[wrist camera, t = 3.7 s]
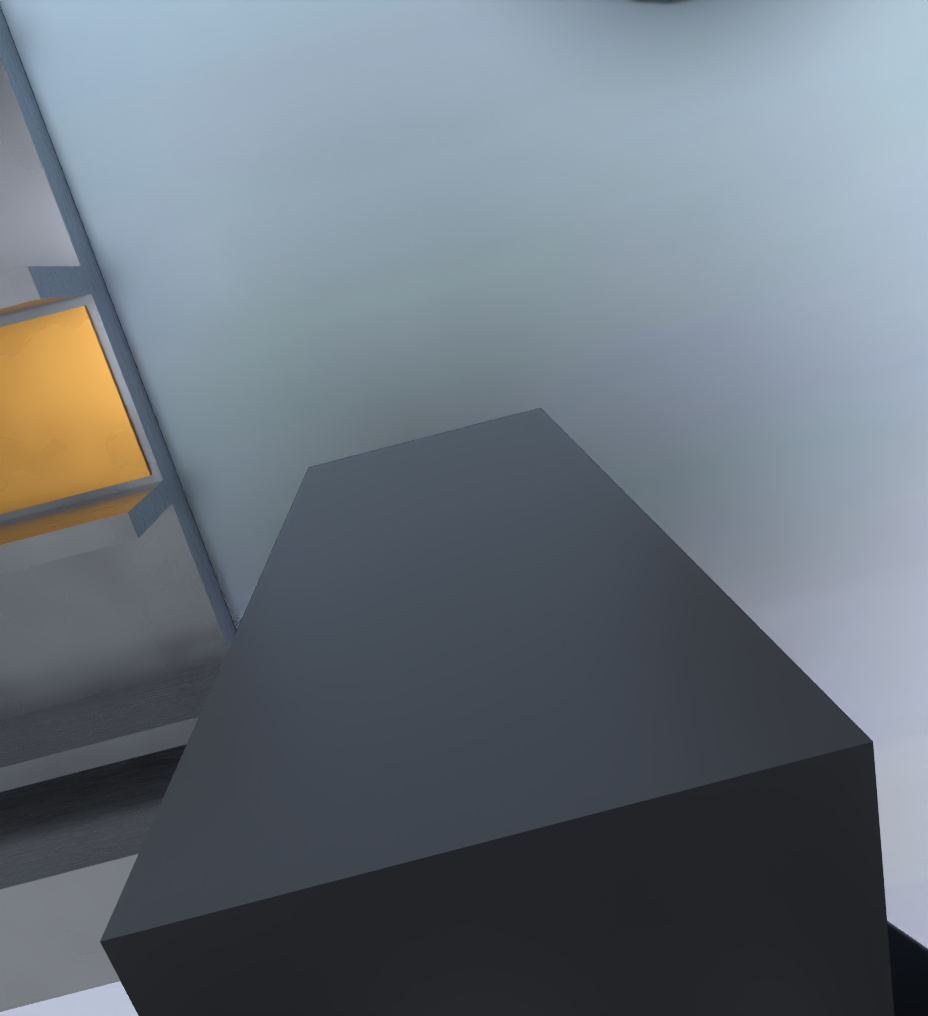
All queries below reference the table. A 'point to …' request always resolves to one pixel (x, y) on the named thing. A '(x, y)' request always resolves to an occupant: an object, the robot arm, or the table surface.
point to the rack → (81, 584)
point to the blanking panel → (504, 771)
